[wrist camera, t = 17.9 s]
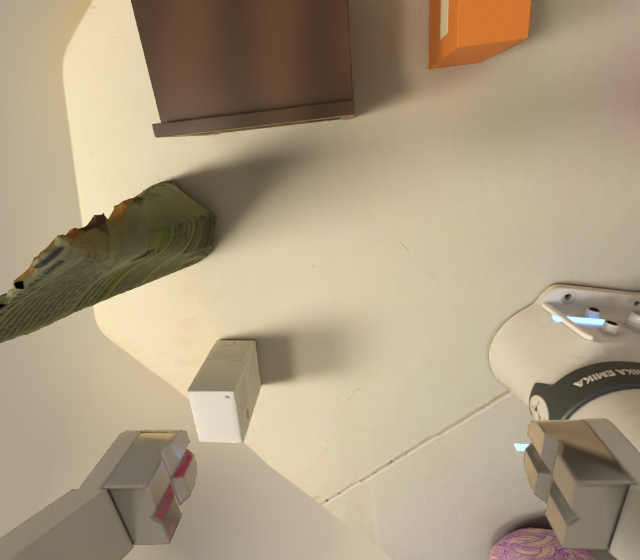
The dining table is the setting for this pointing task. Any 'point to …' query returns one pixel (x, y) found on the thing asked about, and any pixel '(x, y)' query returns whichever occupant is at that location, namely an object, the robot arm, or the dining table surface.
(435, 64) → the block
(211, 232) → the pouch
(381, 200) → the dining table surface
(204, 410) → the small box
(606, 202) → the dining table surface
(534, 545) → the bowl of food
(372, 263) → the dining table surface
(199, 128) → the shelf
